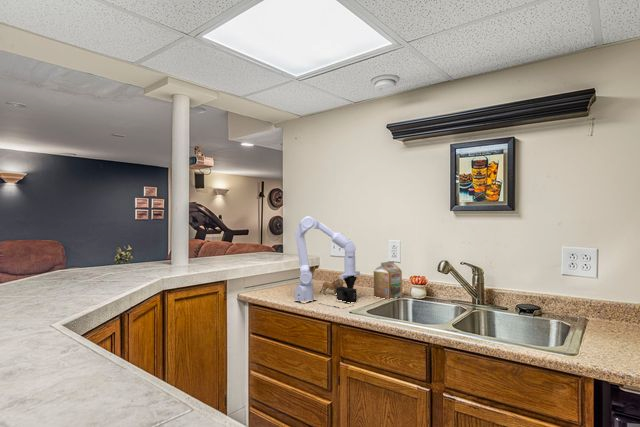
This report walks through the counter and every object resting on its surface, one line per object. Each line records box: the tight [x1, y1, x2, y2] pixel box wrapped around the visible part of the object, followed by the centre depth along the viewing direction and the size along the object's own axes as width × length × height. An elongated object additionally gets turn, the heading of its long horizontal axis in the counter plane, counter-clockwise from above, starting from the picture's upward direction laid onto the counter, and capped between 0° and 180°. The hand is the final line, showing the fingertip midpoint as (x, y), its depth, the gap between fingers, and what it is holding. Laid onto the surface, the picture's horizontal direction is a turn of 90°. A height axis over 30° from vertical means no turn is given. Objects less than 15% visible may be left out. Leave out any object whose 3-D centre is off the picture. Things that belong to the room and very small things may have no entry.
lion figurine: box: [319, 278, 344, 295], centre depth 212 cm, size 15×5×9 cm, turn 68°
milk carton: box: [373, 260, 403, 300], centre depth 203 cm, size 11×11×19 cm
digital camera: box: [336, 286, 357, 303], centre depth 194 cm, size 10×5×7 cm, turn 41°
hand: (350, 290), depth 197 cm, fingers closed
